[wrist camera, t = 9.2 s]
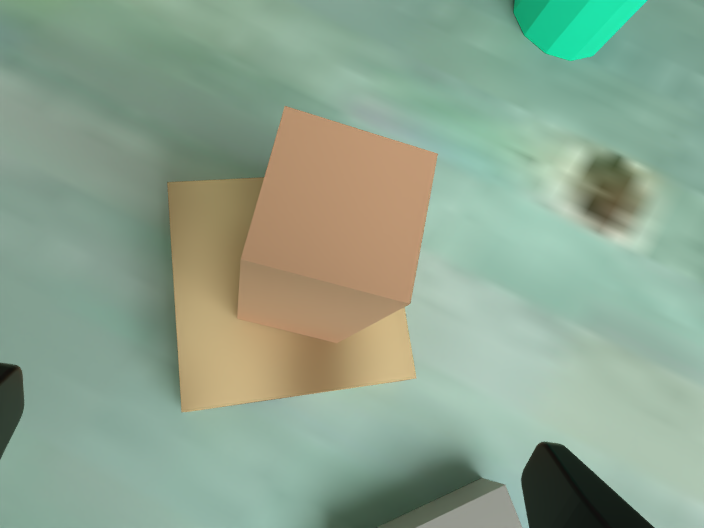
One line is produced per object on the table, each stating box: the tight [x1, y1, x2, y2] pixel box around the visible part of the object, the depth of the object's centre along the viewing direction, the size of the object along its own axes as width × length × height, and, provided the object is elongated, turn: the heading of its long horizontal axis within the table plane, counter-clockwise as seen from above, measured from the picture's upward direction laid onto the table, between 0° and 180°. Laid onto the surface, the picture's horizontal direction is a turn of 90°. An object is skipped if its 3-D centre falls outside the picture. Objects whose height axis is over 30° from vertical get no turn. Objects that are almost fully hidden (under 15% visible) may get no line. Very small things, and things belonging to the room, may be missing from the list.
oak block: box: [167, 177, 416, 412], centre depth 22 cm, size 9×9×2 cm
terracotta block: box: [237, 106, 438, 343], centre depth 17 cm, size 4×4×9 cm
